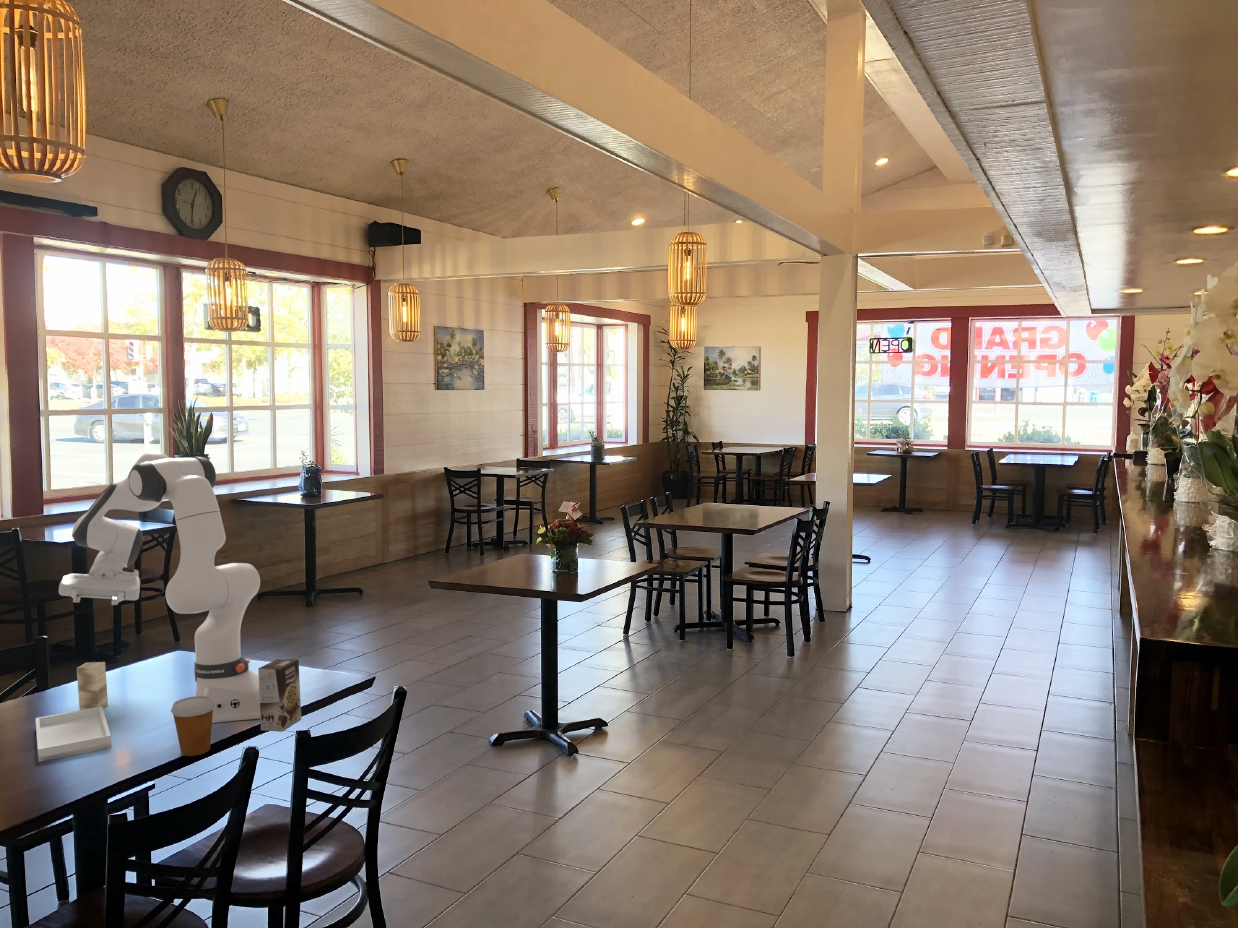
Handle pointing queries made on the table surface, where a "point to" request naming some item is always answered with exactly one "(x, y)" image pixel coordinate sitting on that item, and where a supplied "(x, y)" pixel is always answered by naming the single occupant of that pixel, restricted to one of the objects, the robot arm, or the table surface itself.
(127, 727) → the table surface
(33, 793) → the table surface
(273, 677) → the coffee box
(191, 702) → the disposable coffee cup
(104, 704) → the ash block
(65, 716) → the tray
